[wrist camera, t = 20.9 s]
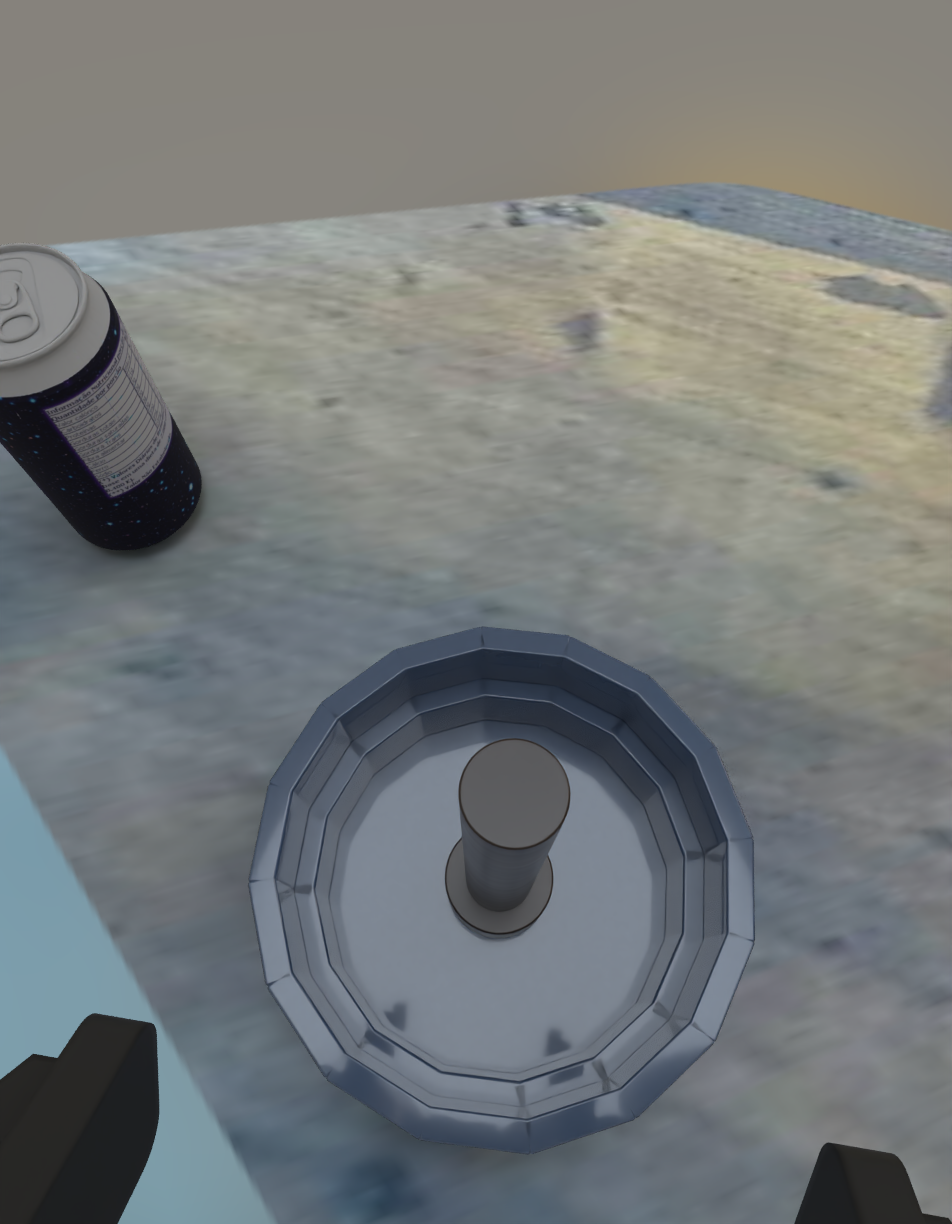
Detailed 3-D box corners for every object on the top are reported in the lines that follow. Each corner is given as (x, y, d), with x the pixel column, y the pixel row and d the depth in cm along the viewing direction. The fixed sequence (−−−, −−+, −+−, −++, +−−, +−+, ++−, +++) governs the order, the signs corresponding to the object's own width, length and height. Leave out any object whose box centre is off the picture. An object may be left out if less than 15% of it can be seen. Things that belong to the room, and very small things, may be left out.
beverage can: (179, 428, 40) (65, 209, 29) (227, 525, 38) (124, 330, 27) (57, 479, 39) (-110, 272, 28) (99, 582, 37) (-63, 403, 26)
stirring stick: (554, 840, 32) (614, 717, 18) (542, 946, 30) (598, 901, 16) (455, 825, 32) (438, 692, 18) (438, 929, 30) (406, 872, 17)
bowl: (788, 919, 31) (861, 901, 25) (464, 1227, 28) (460, 1290, 22) (524, 623, 36) (533, 548, 30) (216, 852, 32) (157, 820, 26)
